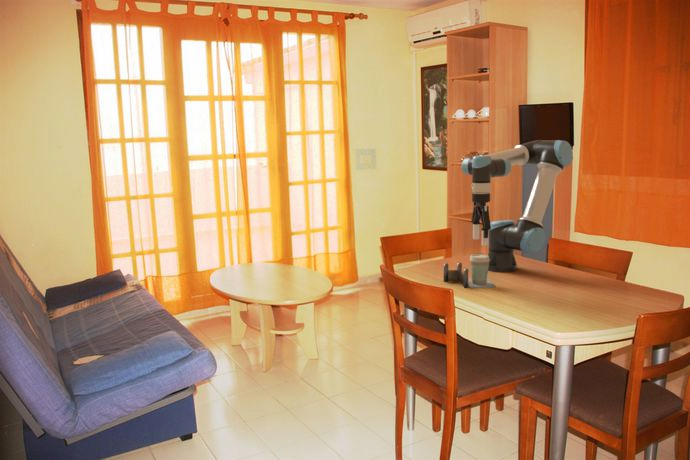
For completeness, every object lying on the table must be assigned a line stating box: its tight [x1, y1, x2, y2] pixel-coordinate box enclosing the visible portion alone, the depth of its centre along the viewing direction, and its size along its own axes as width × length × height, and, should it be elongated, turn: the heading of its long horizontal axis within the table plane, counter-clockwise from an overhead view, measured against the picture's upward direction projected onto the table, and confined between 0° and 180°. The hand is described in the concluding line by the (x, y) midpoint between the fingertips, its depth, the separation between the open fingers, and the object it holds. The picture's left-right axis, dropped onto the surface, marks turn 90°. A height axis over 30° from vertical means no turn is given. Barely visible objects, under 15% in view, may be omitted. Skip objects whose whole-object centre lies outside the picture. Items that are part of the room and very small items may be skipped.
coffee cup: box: [469, 253, 490, 285], centre depth 256 cm, size 9×9×12 cm
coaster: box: [468, 278, 497, 289], centre depth 257 cm, size 11×11×1 cm
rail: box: [443, 262, 469, 289], centre depth 257 cm, size 8×13×8 cm, turn 3°
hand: (480, 242), depth 254 cm, fingers open, 13 cm apart
